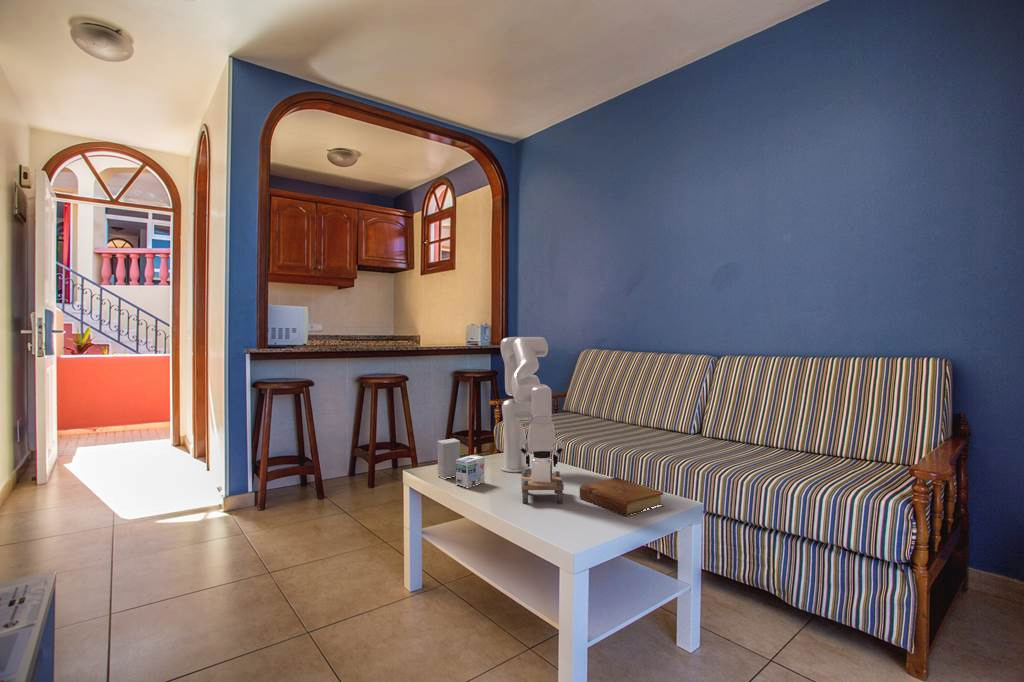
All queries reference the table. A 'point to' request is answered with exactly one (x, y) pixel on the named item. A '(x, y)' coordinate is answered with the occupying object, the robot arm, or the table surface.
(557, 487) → the shelf stand
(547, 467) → the medicine bottle
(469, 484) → the light bulb box
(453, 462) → the skincare box
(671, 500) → the table surface
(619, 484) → the diary
